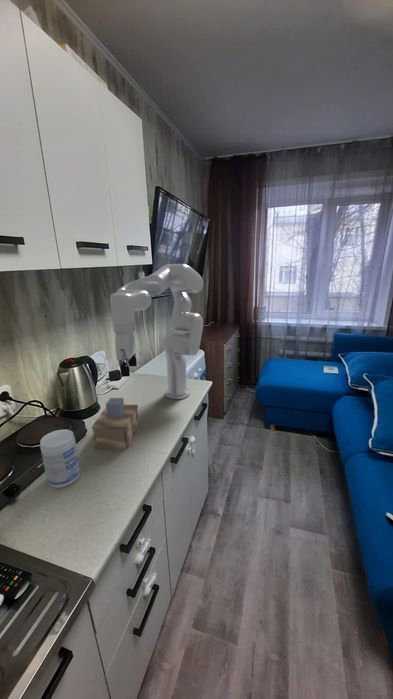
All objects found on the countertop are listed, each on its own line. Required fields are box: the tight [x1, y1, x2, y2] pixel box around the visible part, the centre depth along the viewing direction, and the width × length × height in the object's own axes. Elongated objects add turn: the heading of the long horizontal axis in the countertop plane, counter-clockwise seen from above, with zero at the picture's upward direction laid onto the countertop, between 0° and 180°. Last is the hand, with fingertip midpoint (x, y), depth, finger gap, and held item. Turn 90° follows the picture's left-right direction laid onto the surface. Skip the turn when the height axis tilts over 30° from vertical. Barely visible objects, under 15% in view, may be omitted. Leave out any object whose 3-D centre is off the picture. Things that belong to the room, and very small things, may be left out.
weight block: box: [105, 397, 125, 419], centre depth 107 cm, size 5×5×6 cm
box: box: [92, 409, 140, 450], centre depth 110 cm, size 16×12×8 cm
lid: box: [91, 404, 139, 430], centre depth 109 cm, size 16×12×1 cm
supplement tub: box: [39, 429, 81, 489], centre depth 87 cm, size 10×10×15 cm
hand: (129, 370), depth 108 cm, fingers open, 9 cm apart
